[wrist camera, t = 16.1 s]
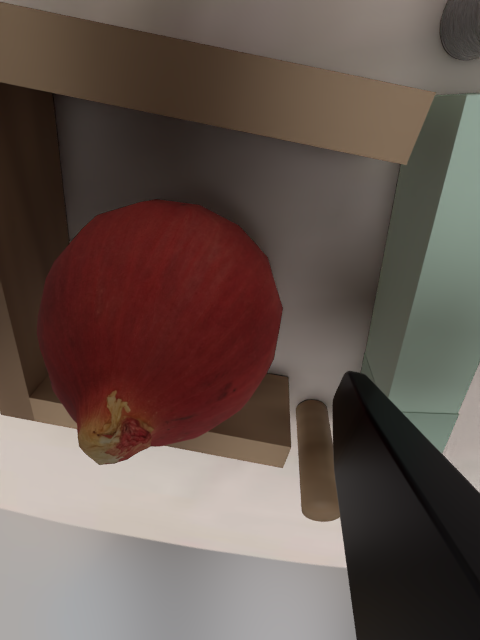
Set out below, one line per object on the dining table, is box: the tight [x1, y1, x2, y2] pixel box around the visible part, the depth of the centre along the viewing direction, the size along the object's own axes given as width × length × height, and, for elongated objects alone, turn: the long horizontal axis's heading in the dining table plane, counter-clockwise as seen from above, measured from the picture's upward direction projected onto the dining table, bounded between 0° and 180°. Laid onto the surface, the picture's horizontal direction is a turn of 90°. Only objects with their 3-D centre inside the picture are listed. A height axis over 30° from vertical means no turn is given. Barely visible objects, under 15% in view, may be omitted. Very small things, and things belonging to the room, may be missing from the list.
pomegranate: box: [37, 199, 283, 465], centre depth 9 cm, size 6×6×8 cm
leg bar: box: [361, 93, 480, 453], centre depth 10 cm, size 10×2×3 cm, turn 3°
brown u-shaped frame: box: [0, 2, 436, 522], centre depth 10 cm, size 12×13×4 cm
